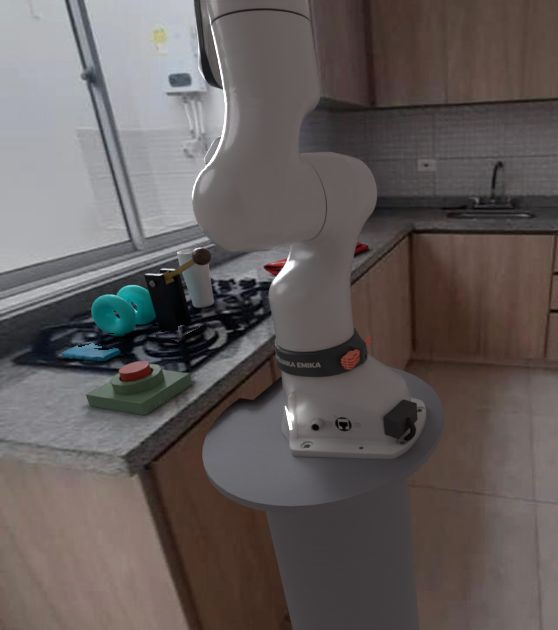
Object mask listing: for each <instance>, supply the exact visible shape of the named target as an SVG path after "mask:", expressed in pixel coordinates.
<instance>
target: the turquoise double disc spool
mask: <svg viewBox="0 0 558 630" xmlns="http://www.w3.org/2000/svg"><path fill="white" fill-rule="evenodd" d="M132 303H133V304H134V305H135V306H136V309H135V308H134V307H133V305H132ZM90 311H91V317H92V320H93V322H94V323H95V325H96V326H97V327H98V328H99V329H100V330H101V331H102V332H104V333H105V332H108V333H114V334H108V335H109V336H112V337H125V336H127V335H129V334H131V333H132V332H133V331H134V330H135V328H136V325H137V326H138V325H139V326H140V325H141V326H143V325H148V324H150V323H152V322H153V321H154V320H155V319H156V315H155V311H154V308H153V304H152V301H151V297H150V294H149V290H148V289H146V288H144V287H143V286H141V285H137V284H128V285H125V286H123V287H121V288H120V289H119V290H118V291H117V293H116V294H103V295H101V296H99V297H97V298H96V299H94V301H93V303H92V305H91V309H90ZM115 312H116V313H117V314H118V316H119V317H118V316H116V314H115ZM130 331H132V332H130ZM126 332H130V333H127V334H126V335H125V334H121V333H126Z"/></svg>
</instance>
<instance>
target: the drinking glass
mask: <svg viewBox="0 0 558 630" xmlns="http://www.w3.org/2000/svg"><path fill="white" fill-rule="evenodd" d="M197 248H198V247H193V248H186V249H181V250H179V251H177V252H176V255H177V259H178V264H179V267H180V266H182V265H183V264H185V263H186V262H188V261H190V260H191V259H192V253H193V251H194V250H195V249H197ZM181 274H182V276H183V277H182V278H183V280H184V282H185V285H186V289H187V291H188V294H189V297H190V299H191V303H192V306H193V308H197V309H202V308H209V307H211V306H213V305H214V304H215V298H214V291H213V286H212V279H211V277H212V276H211V271H210V262H209V263H208V264H206V265H198V264H194V265H193V266H191V267H189V268H188V269H186V270H185V271H183V272H181Z"/></svg>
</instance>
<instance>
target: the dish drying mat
mask: <svg viewBox="0 0 558 630" xmlns="http://www.w3.org/2000/svg"><path fill="white" fill-rule="evenodd" d="M368 249H369V245H368V244H366V243H361V242H360V241H357V245H356V249H355V253H354V255H356V254H359V253H361V252H364V251H367V250H368ZM287 258H288V257H286V258H283V259H281V260H276V261H274V262H270V263H267V264H264V265H263V267H262V268H263V269H264V271H266V272H268V273H269V274H272V275H276V276H277V275H278V273H279V272H280V271H281V270H282V268H283V267H284V265H285V263H286V261H287Z"/></svg>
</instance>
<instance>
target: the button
mask: <svg viewBox="0 0 558 630" xmlns="http://www.w3.org/2000/svg"><path fill="white" fill-rule="evenodd" d="M149 364H150V362H149V361H146V360H139V361H134V362H130V363H127V364H125V365H123V366H122V367H120V368H119V370H118V373H120V376H121V379H122V381H123V382H130V381H136V380H139V379H142V378H145V377H146V376H148V375H150V374H151V373H152V371H151V368H150V365H149Z"/></svg>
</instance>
